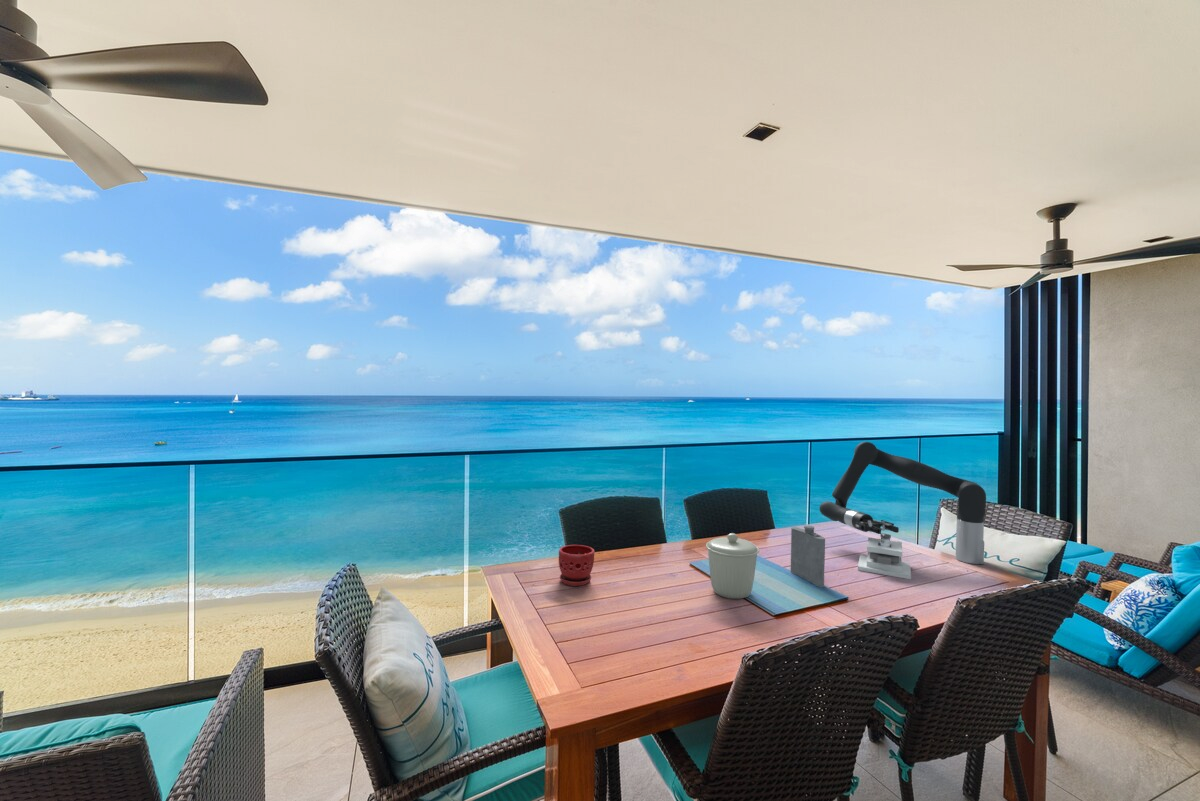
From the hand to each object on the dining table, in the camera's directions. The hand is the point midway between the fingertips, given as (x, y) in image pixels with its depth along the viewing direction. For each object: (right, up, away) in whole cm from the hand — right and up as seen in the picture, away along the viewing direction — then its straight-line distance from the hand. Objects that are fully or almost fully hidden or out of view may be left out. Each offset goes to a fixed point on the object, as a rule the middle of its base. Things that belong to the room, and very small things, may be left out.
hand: (889, 530), depth 196 cm
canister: (-69, -16, -24) cm, 75 cm away
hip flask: (-36, -16, -9) cm, 41 cm away
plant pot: (-124, -15, -14) cm, 126 cm away
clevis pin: (-1, -14, +2) cm, 14 cm away
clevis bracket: (-1, -16, +2) cm, 16 cm away
